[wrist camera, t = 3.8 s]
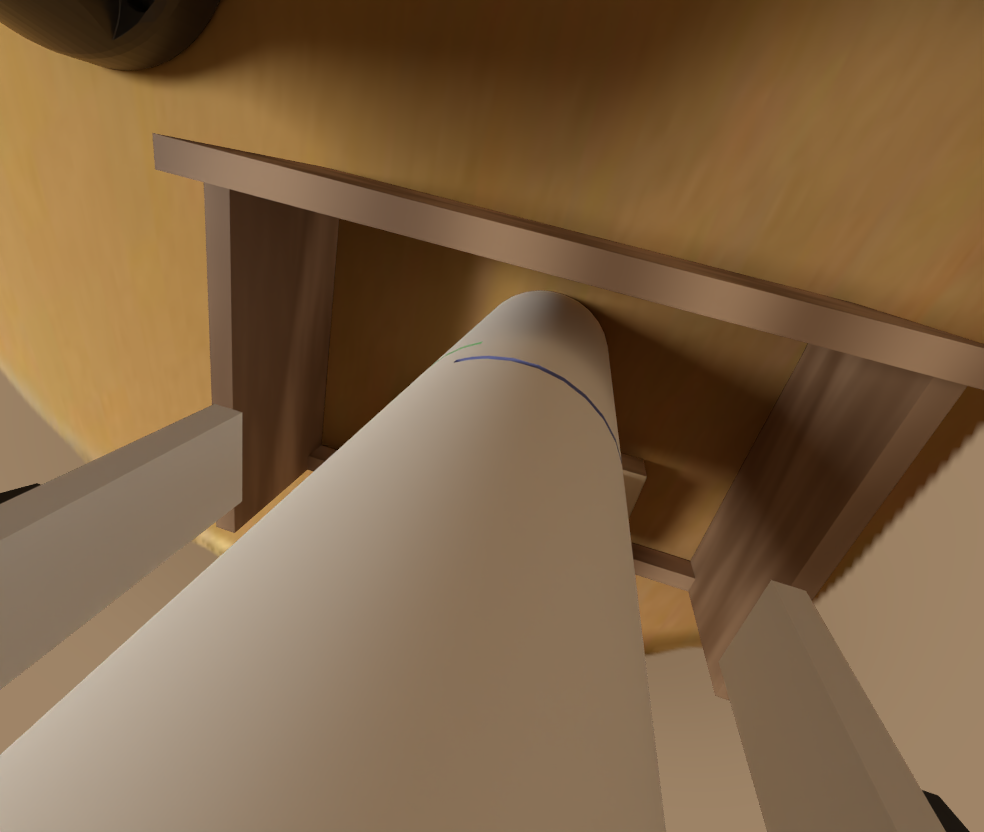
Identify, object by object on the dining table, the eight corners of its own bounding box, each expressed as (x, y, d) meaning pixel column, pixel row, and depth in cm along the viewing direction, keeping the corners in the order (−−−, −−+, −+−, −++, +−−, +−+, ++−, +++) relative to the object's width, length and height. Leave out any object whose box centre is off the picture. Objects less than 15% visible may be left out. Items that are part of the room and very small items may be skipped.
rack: (306, 453, 30) (184, 552, 21) (324, 167, 23) (152, 133, 14) (700, 578, 28) (751, 749, 19) (855, 303, 21) (1056, 367, 12)
